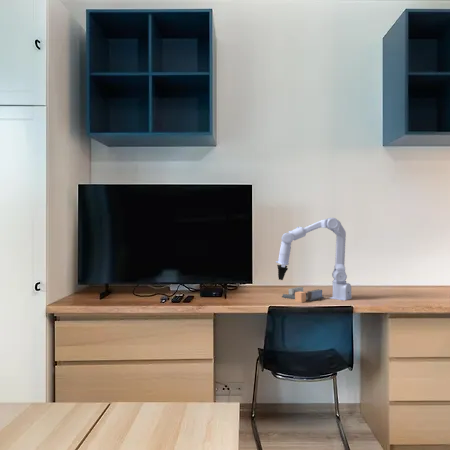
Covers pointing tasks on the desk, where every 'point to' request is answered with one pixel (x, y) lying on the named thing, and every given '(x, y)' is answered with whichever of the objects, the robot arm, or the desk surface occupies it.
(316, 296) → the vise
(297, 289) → the moving jaw
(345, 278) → the robot arm
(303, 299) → the block
